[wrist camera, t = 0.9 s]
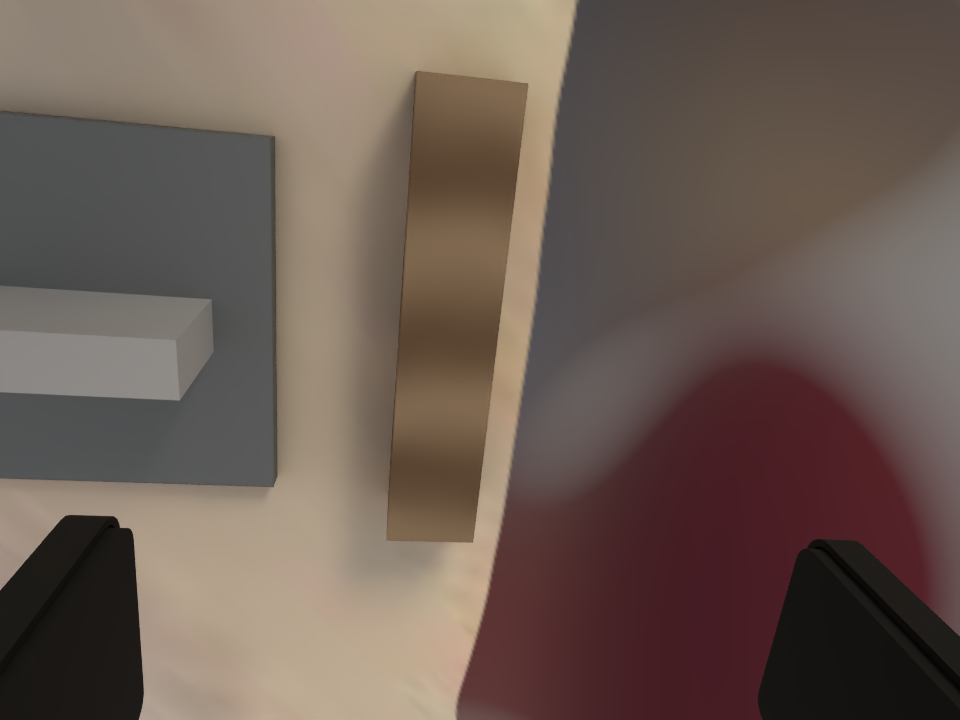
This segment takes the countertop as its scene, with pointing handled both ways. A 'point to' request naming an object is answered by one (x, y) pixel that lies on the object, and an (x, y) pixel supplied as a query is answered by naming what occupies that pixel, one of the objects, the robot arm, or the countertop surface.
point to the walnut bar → (451, 299)
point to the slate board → (146, 249)
